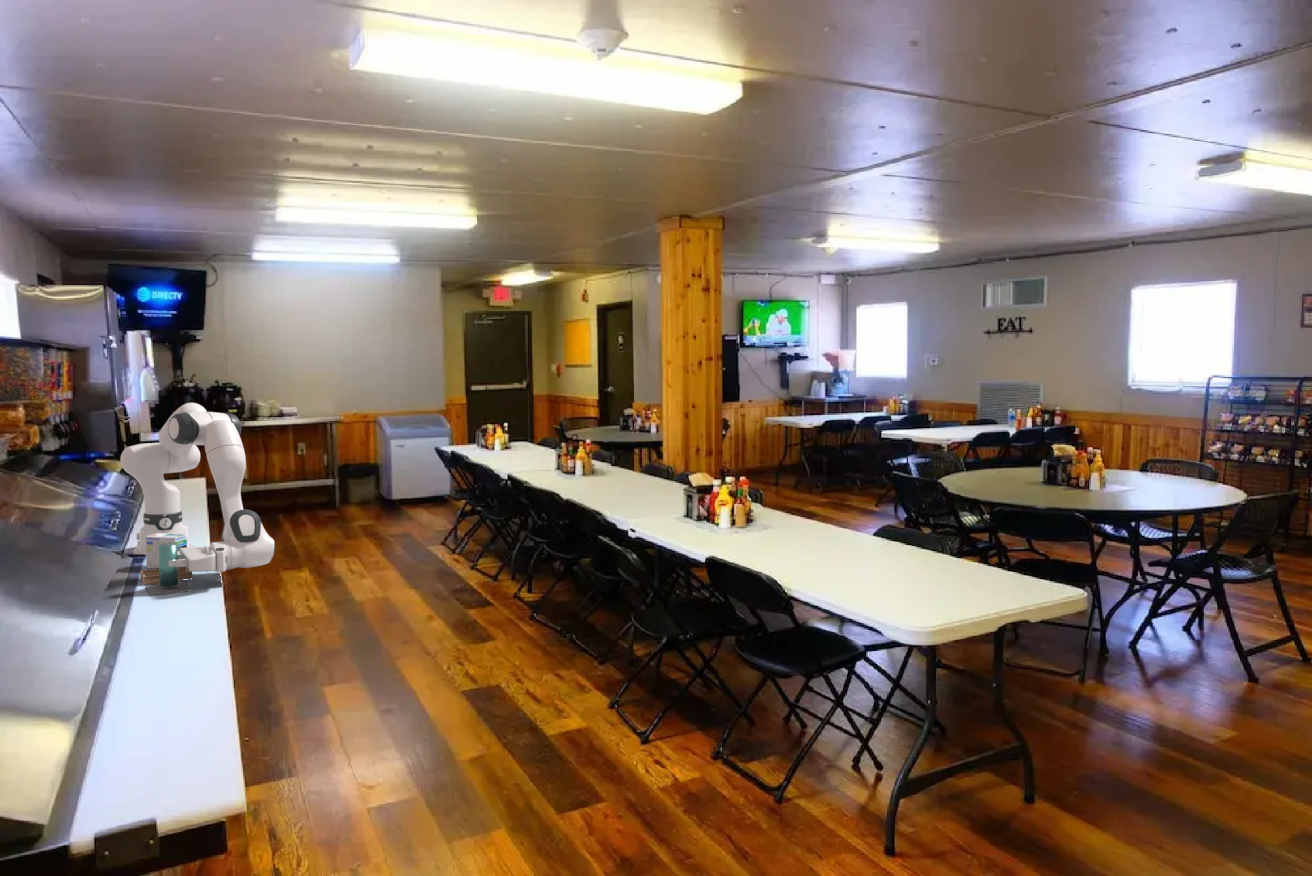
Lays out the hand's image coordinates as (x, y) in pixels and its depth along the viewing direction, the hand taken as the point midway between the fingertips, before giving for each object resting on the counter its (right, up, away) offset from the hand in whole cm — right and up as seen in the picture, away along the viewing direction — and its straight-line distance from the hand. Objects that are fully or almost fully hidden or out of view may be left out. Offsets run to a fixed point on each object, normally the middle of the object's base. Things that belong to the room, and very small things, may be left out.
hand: (166, 561), depth 256 cm
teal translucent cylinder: (0, -7, +1) cm, 7 cm away
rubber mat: (0, -8, +1) cm, 9 cm away
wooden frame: (-7, -7, +13) cm, 16 cm away
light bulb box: (-16, -6, +29) cm, 33 cm away
